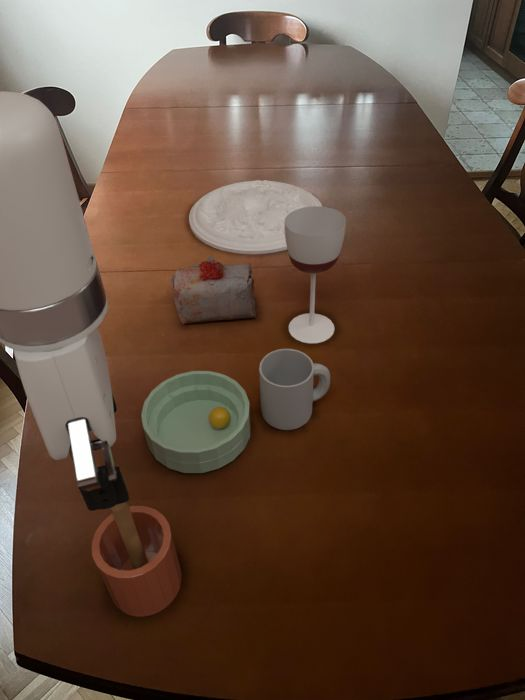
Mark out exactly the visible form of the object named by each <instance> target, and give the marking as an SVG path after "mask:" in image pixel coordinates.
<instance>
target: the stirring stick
mask: <svg viewBox="0 0 525 700" xmlns="http://www.w3.org/2000/svg"><path fill="white" fill-rule="evenodd" d="M129 507H130V505H129V503H128V501H127V502H125V503H121V504H117V505H115V506H114V507H111V508H110V510H111V514H112V513H113V516H114V518H115V521H116V524H117V526H118V529H119V532H120V534H121V537H122V540H123V542H124V545H125V548H126V550H127V553H128V555H129V558H130V561H131V563H132V566H133V569H137V568H141V567H142V566H144V565H146V564H147V563H148V562H147V559H146V556H145V553H144V550H143V547H142V544H141V541H140V538H139V535H138V532H137V529H136V526H135V523H134V520H133V517H132V514H131V511H130V508H129Z"/></svg>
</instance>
